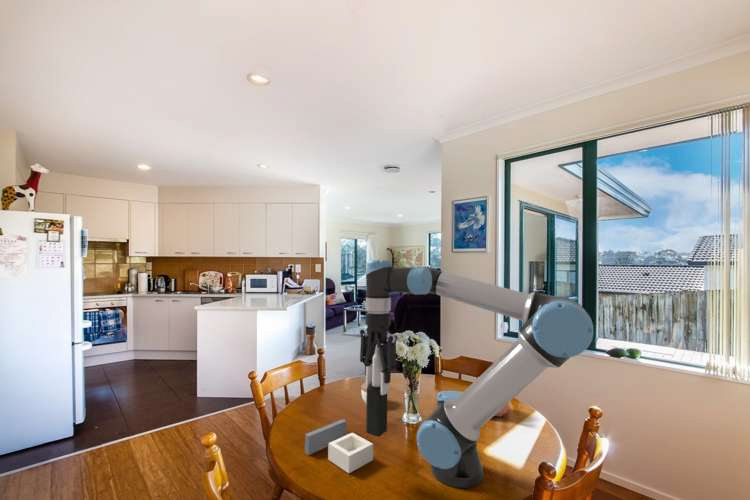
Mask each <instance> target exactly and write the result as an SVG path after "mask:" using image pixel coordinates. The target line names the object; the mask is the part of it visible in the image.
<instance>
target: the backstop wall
mask: <svg viewBox="0 0 750 500" xmlns="http://www.w3.org/2000/svg"><path fill="white" fill-rule="evenodd" d="M347 423H348V422H347V420H345V419H344V418H342V419H339V420H337V421H334V422H333V423H330V424H327V425H325V426H322V427H320V428H318V429H314V430H312V431H310V432H308V433H307V432H306V433H305V436H304V454H306V455H308V456H310V455H312V454H314V453H317V452H319V451H321V450H323V449H326V448H328V443H330V442H332V441H335V440H337V439H339V438H341V437H343V436H346V435H348V433H347V429H348V425H347Z"/></svg>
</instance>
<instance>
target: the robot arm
mask: <svg viewBox="0 0 750 500" xmlns="http://www.w3.org/2000/svg"><path fill="white" fill-rule="evenodd" d="M365 270H366V271H365V281H366V282H365V290H366V291H365V292H366V293H365V311H366V312H365V320H364V321H365V322H364V323H365V325H366V326H367V327H366V328H365V329H364V328H363V329H360V330H359V333H360V349H359V350H360V351H359V362H360V363H362V364H363V365H364V376H365V383H366V389H367V387H369V385H370V384H371V383H372V368H373V356H374V354H375V352H376V346H377V347H378V348H379V351H380V356H381V362H382V371H381V395H385V394H387V395H388V394H389V393H390V383H391V380H392V379H391V376H392V375H391V374H392V373H391V372H392V371H396V370H397V341H398V335H396V334H395V335H394V334H392V333H391V332H390V326H391V323H392V322H391V320H392V319H391V317H392V314H391V313H390V311H392V310H391V308H392V307H391V304H392V299H391V297H392V293H394V294H395V293H396V294H399V293H400V294H410V295H416V296H417V295H427V294H433V295H437V296H441V297H443V298H447V299H451V300H452V301H456V302H460V303H462V304H467V305H469V306H472V307H473V306H474V307H477V308H479V309H483V310H487V311H489V312H492V313H496V314H499V315H501V316H502V315H503V316H505V317H509V318H512V319H516V320H518V321H521V322H522V323H523V325H522V326H521V327H519V328H518V335H517V336H518V338H517V340H516V341H515V342H514V343H513V344H511V346H510V347H509V348H507V350H505V351H504V353H503V354H502V355H500V356H499V357H498V358H497V359H496V360H495V361H494V362H493V363H492V364H491V365H490V366H489V367H488V368H487V369H486V370H485V371H484V372H483V373H481V374H480V375H479V376H478V377H479V378H478V379H477V378H476V379H475V380H474V381H473V382H472V383H471V384H470V385H469V386H468V387H467V388H466V389H465V390H464V391H457V390H441V391H439V392H438V393H437V394H436V395H437V396H436V408H435V409H434V410H433V411H432V412H431V413H430V415H429V416H428V417H427V418H426V419H425V421H423V422H422V423H421V424H420V425H419V428H418V431H417V433H416V445H417V448H418V450H419V452H420V455H421V456H422V457H423V458H424V459H425V461H426V462H427V463H428V464H430V472H431V474H432V475H433V477H434V478H435V479H436V480H438V481H439V482H441V483H442V484H445V485H447V486H450V487H453V488H460V489H461V488H462V489H466V488H467V489H468V488H473V487H475V486H478V485H479V484H480V483H482V481H483V478H484V469H483V464H482V461H481V457H480V454H479V451H478V448H477V444H478V442H477V441H478V440H479V439H480V436H481V431H480V429H481V428H482V427H483V426H485V424H487V423H488V421H490V420H491V419H493V417H495V416H494V415H495V414H496V413H498V412H499V411H500V410H501V409H502V408H503V407H504V406H505V405H506V404H509V403H510V402H512V400H513V399H515V397H516V396H518V395H519V394H520V393H521V392H522V391H523V390H524V389H525V388H526V387H528V386H529V385H530V384H531V383H533V381H534V380H536V379H537V378H538V377H539V376H541V374H542V373H543V372H545V370H546V369H548V368H555V369H556V368H557V369H559V368H561V366H562V365H564V364H565V363H566V362H567V361H568V360H569V359H570V358H573V357H577V356H578V355H581V354H582V353H583V352H585V351H586V350H587V349H588V348H589V346H590V345H591V343H592V341H593V338H594V328H595V327H594V323H593V321H592V318H591V316H590V315H589V313H588V311H586V309H585V308H584V307H583V306H582V305H581V304H580V303H579V302H577V301H576V300H574V299H573V298H569V297H564V296H558V295H550V294H544V293H540V292H536V291H533V292H531V293H525V292H521V291H518V290H514V289H510V288H508V287H507V288H506V287H503V286H498V285H495V284H493V283H492V284H491V283H487V282H485V281H480V280H476V279H473V278H469V277H465V276H461V275H457V274H453V273H451V272H446V271H442V270H439V269H436V268H434V267H431V266H421V267H420V266H409V267H407V266H403V267H402V266H399V267H398V266H393V265H392V262H391V260H389V259H388V260H387V259H386V260H385V259H383V260H382V259H378V260H377V259H371V260H368V261H367V262H366V269H365Z"/></svg>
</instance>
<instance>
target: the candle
mask: <svg viewBox="0 0 750 500" xmlns="http://www.w3.org/2000/svg"><path fill="white" fill-rule="evenodd" d="M372 365H373V368H372V383H371V384H370V385H369V387H367V404H366V405H365V406H366V410H365V411H366V413H365V414H366V416H365V418H366V419H365V421H366V422H365V424H366V425H365V426H366V427H365V431H366V432H365V433H367V434H369V435H371V436H374V437H381V436H382V435H383V434H385V433H387V431H388V393H387V394H385V395H381V371H382V370H383V367H382V362H381V356H380V351H379V348H378V347H377V345H376V349H375V353H374V356H373V364H372Z"/></svg>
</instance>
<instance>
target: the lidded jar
mask: <svg viewBox="0 0 750 500" xmlns="http://www.w3.org/2000/svg"><path fill="white" fill-rule="evenodd" d="M360 389H361V392H360V393H361V397H362V400H363V402H364V403H365V404H366V405H367V389H366V382H364V383H362V384H361V386H360Z"/></svg>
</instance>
